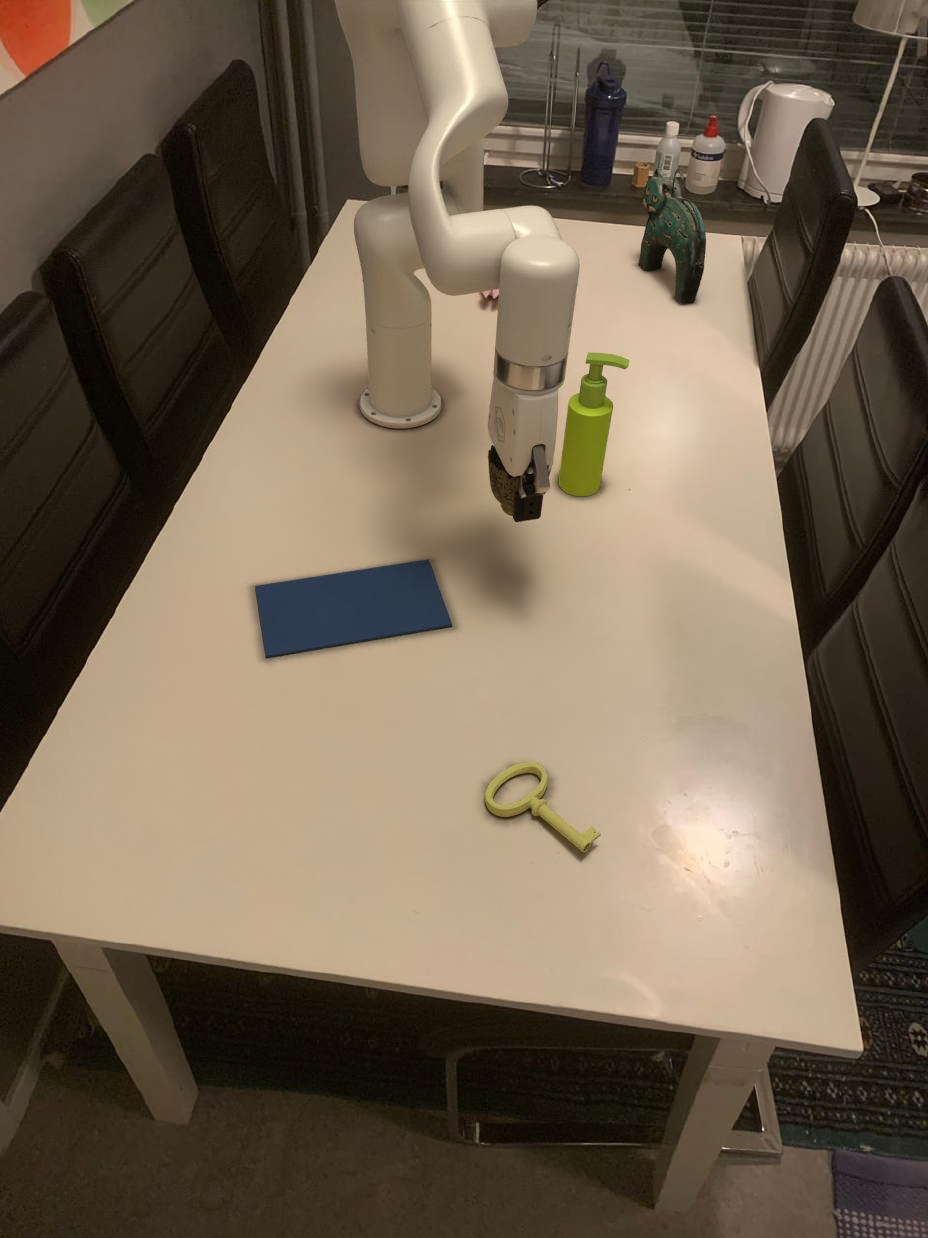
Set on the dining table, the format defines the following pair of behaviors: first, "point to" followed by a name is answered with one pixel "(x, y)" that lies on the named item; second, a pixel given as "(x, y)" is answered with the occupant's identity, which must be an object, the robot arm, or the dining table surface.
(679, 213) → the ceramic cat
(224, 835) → the dining table surface
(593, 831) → the key
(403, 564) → the cloth
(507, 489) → the dark brown rounded piece
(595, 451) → the soap dispenser
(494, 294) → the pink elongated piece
